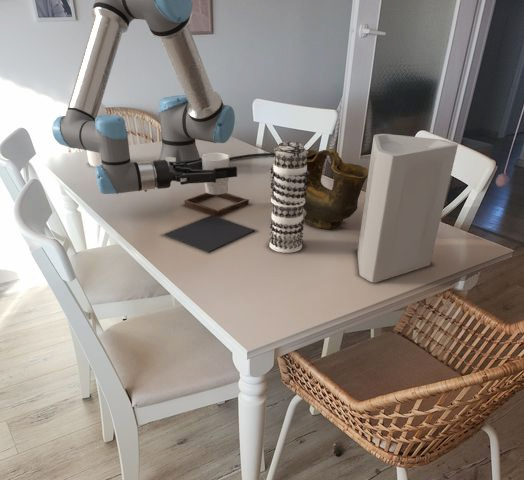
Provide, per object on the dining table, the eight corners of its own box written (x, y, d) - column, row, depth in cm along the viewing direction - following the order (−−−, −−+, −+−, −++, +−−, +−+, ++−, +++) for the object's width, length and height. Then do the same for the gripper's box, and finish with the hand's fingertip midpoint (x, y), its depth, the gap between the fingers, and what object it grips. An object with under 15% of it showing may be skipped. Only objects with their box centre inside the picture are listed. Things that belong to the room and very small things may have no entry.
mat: (211, 216, 148) (211, 215, 147) (254, 231, 140) (254, 230, 139) (164, 235, 136) (164, 234, 136) (208, 252, 128) (208, 251, 128)
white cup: (209, 197, 148) (207, 161, 142) (199, 188, 154) (197, 154, 148) (234, 193, 151) (233, 158, 145) (223, 185, 157) (222, 151, 151)
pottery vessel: (278, 213, 151) (281, 142, 139) (305, 205, 157) (310, 136, 145) (341, 241, 136) (351, 164, 124) (368, 231, 141) (380, 156, 130)
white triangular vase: (388, 242, 135) (408, 129, 119) (431, 264, 125) (459, 144, 109) (332, 258, 127) (345, 139, 111) (372, 283, 117) (394, 156, 100)
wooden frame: (215, 194, 163) (215, 189, 162) (248, 204, 156) (248, 199, 155) (184, 205, 154) (184, 200, 153) (218, 217, 147) (217, 211, 146)
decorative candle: (292, 256, 127) (299, 152, 113) (261, 247, 131) (263, 145, 116) (309, 244, 134) (318, 143, 119) (279, 235, 137) (283, 137, 123)
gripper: (147, 177, 153) (221, 170, 160) (163, 200, 137) (244, 191, 145) (144, 151, 148) (220, 144, 155) (161, 172, 133) (244, 164, 140)
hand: (231, 167), depth 150 cm, fingers closed on white cup, 8 cm apart
